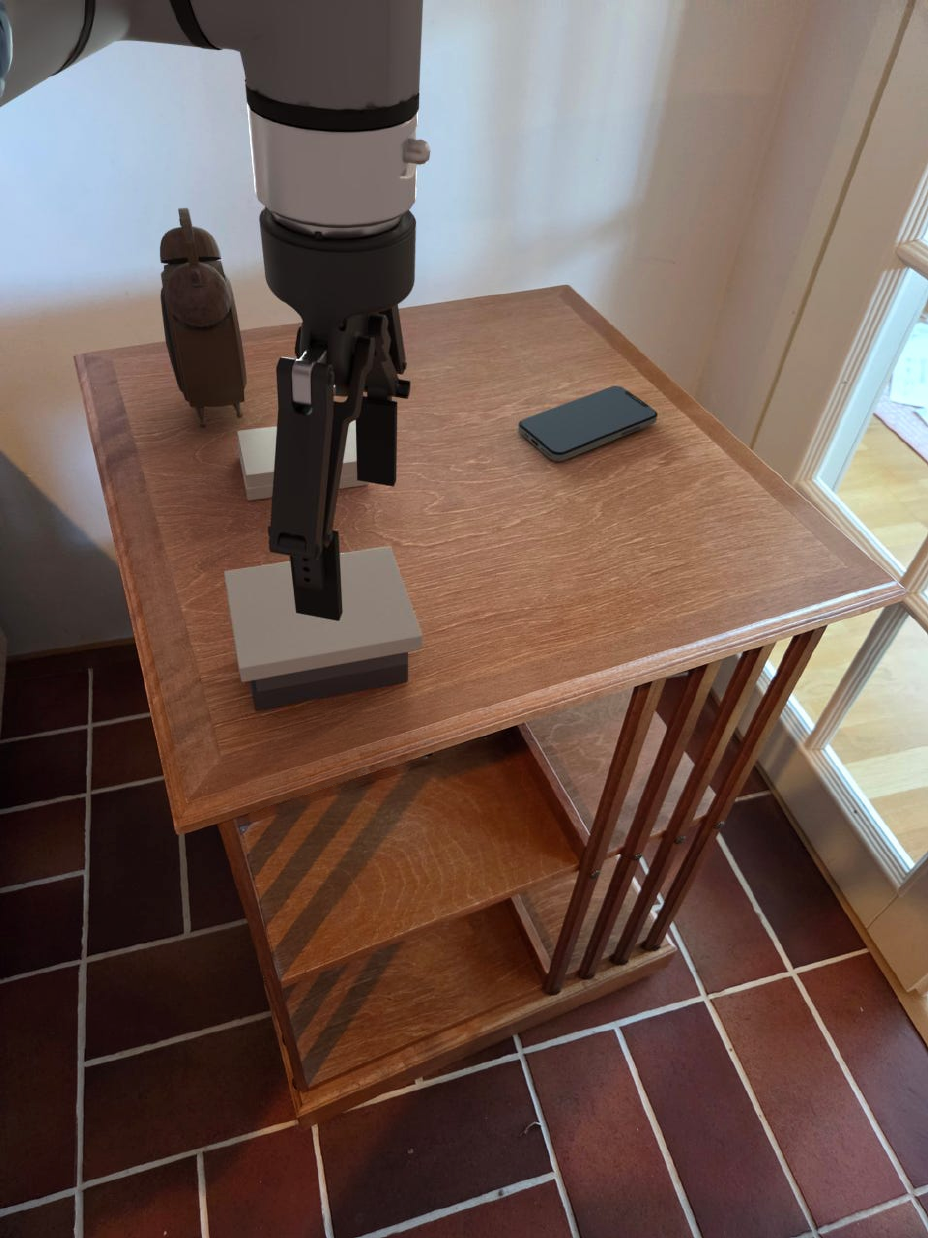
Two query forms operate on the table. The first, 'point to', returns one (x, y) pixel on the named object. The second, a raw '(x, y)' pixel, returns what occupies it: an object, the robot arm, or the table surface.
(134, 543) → the table surface
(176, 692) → the table surface
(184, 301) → the alarm clock
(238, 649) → the light grey rectangular slab
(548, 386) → the table surface
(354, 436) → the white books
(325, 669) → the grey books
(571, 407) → the smartphone
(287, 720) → the table surface
